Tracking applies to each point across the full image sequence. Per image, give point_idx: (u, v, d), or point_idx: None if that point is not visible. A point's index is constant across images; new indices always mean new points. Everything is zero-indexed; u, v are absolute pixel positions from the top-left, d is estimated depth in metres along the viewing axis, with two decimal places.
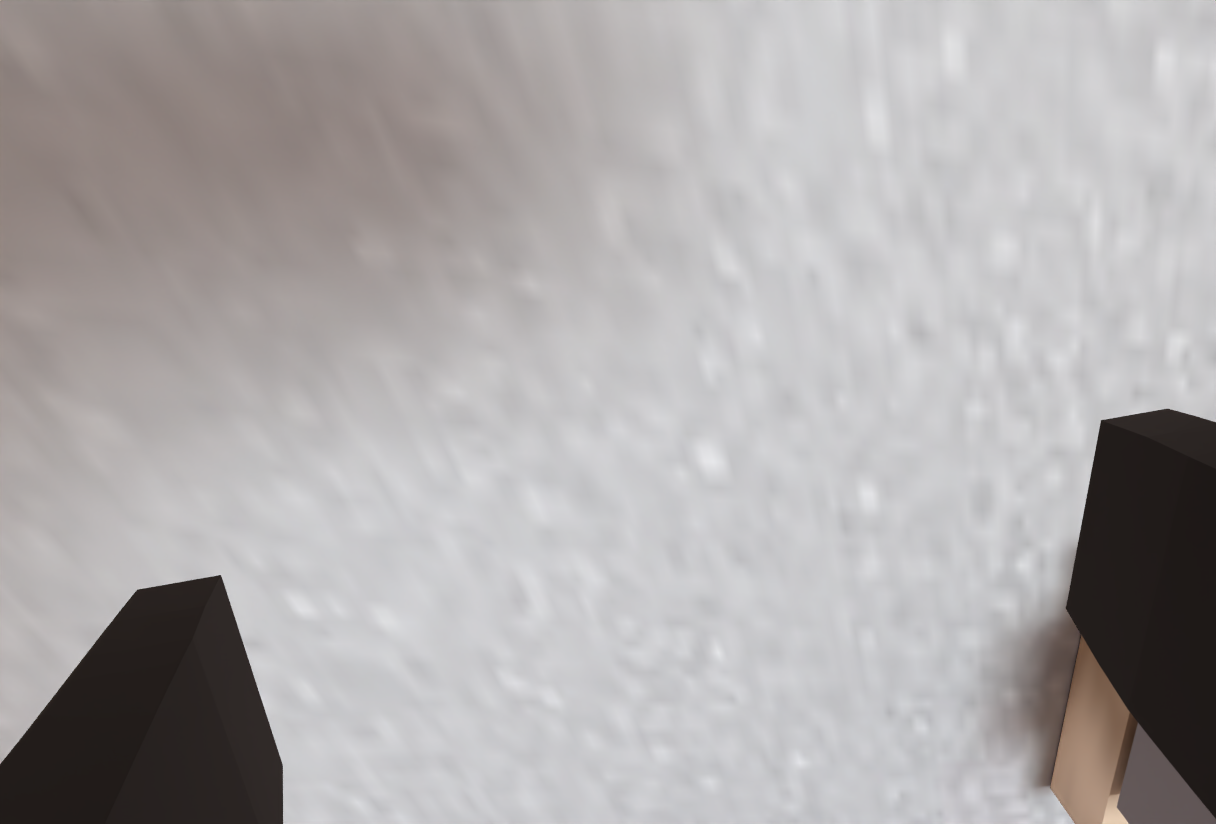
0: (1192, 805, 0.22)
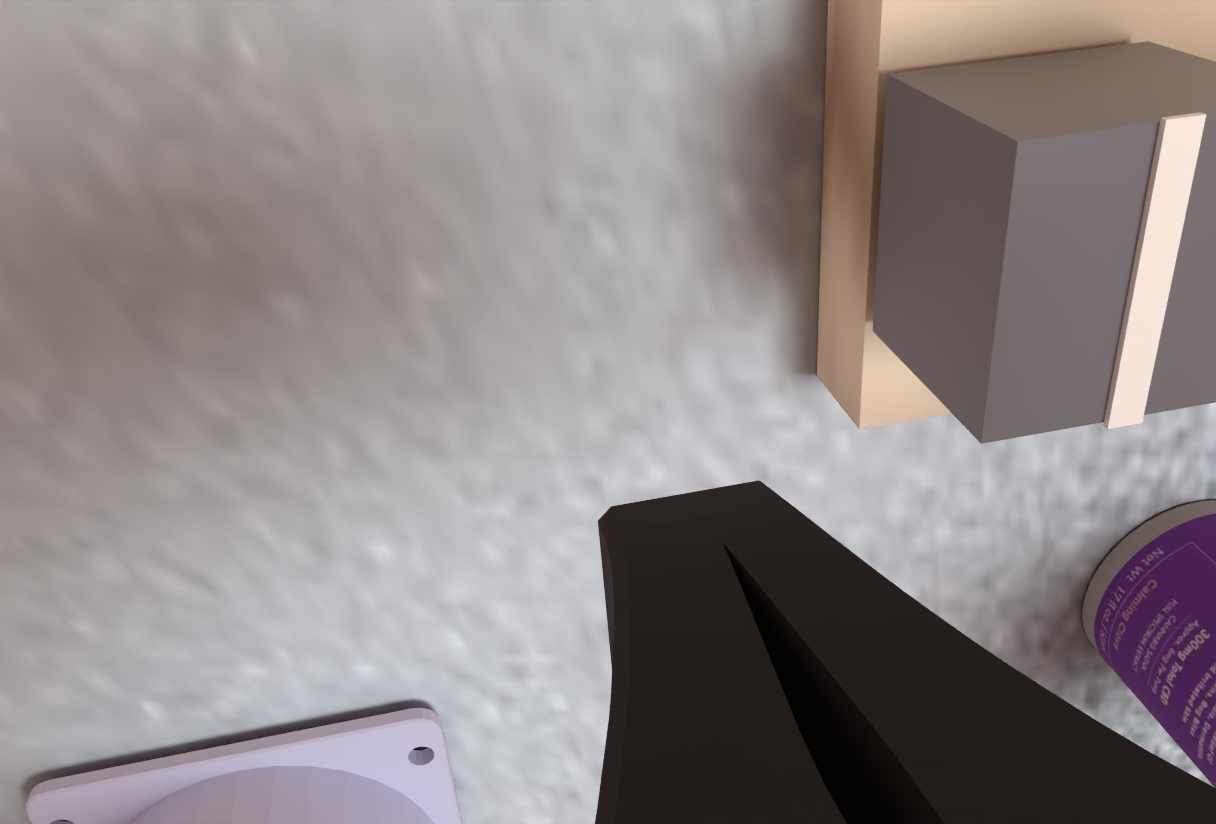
0: (941, 234, 0.14)
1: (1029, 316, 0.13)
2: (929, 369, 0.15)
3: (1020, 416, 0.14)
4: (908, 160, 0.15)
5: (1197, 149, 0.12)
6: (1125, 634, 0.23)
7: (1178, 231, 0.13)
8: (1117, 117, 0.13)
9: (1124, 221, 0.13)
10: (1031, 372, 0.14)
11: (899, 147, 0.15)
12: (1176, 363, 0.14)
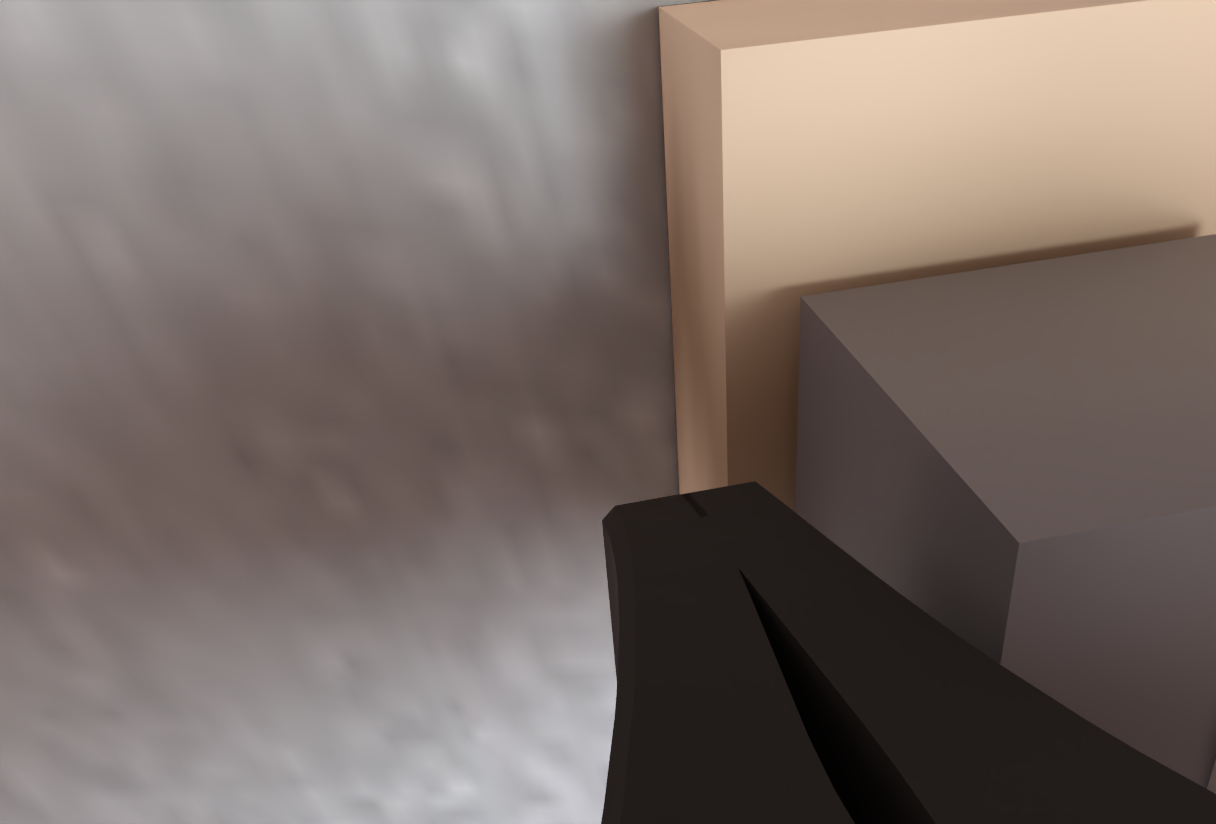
0: None
1: None
2: None
3: None
4: (833, 446, 0.09)
5: None
6: None
7: None
8: (1213, 468, 0.06)
9: None
10: None
11: (821, 420, 0.09)
12: None
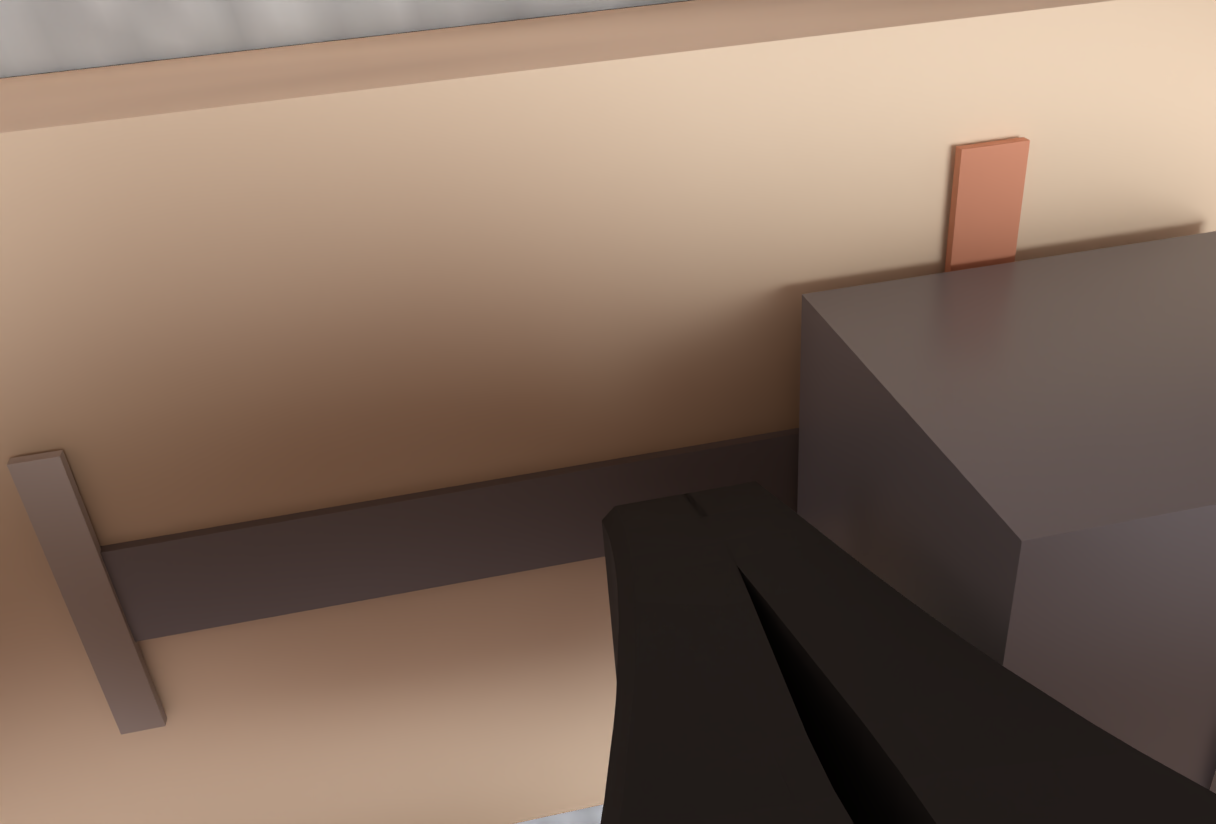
0: None
1: None
2: None
3: None
4: (835, 445, 0.09)
5: None
6: None
7: None
8: None
9: None
10: None
11: (823, 419, 0.09)
12: None
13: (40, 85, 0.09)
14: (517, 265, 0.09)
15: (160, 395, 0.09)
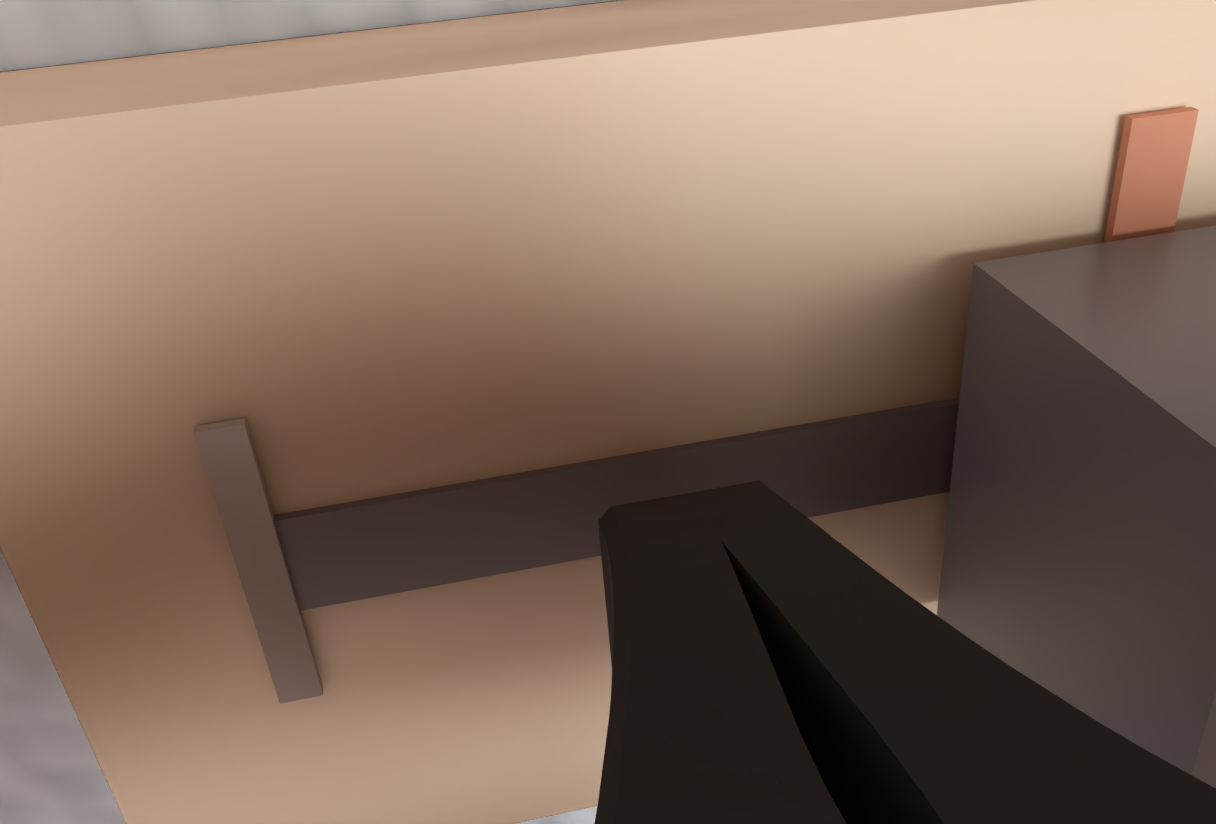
0: (1073, 558, 0.08)
1: None
2: None
3: None
4: (1011, 412, 0.09)
5: None
6: None
7: None
8: None
9: None
10: None
11: (995, 385, 0.09)
12: None
13: (220, 58, 0.09)
14: (694, 234, 0.09)
15: (341, 364, 0.09)
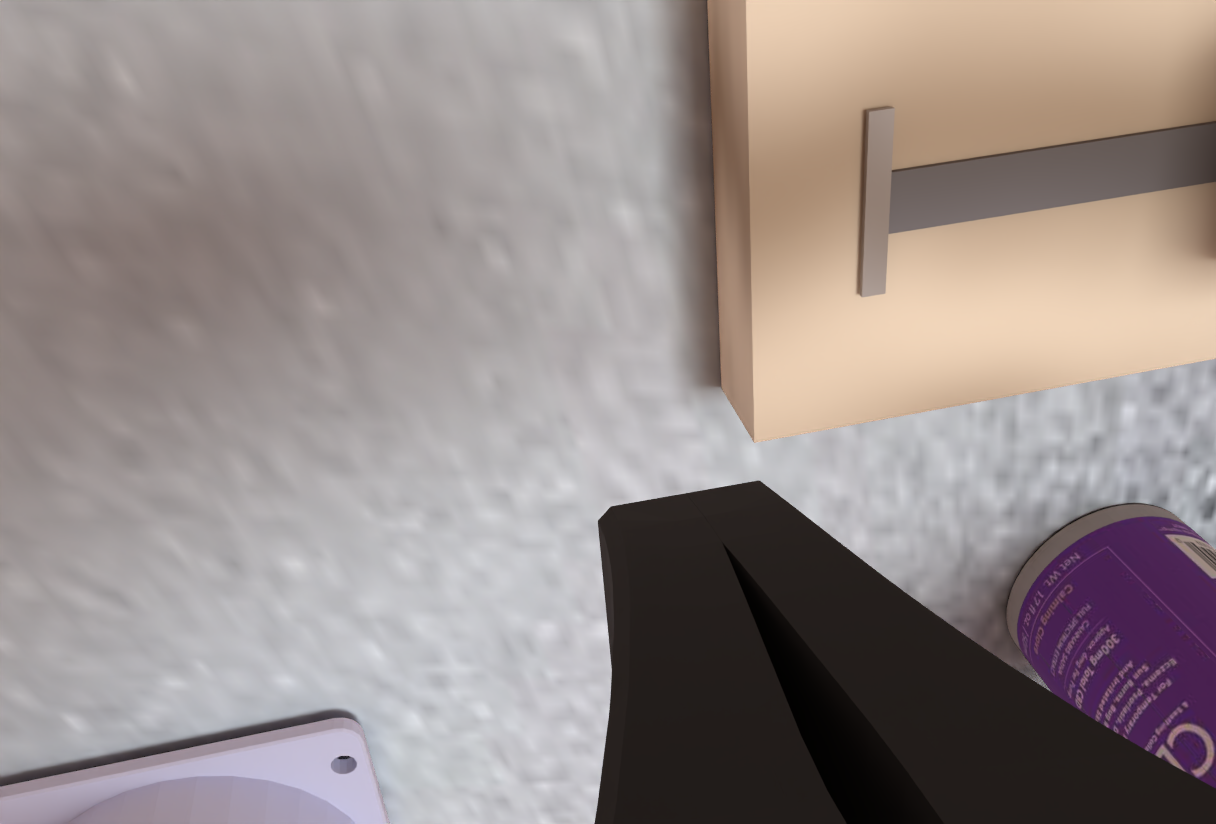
0: None
1: None
2: None
3: None
4: None
5: None
6: (1043, 638, 0.23)
7: None
8: None
9: None
10: None
11: None
12: None
13: None
14: (1136, 3, 0.16)
15: (945, 76, 0.16)
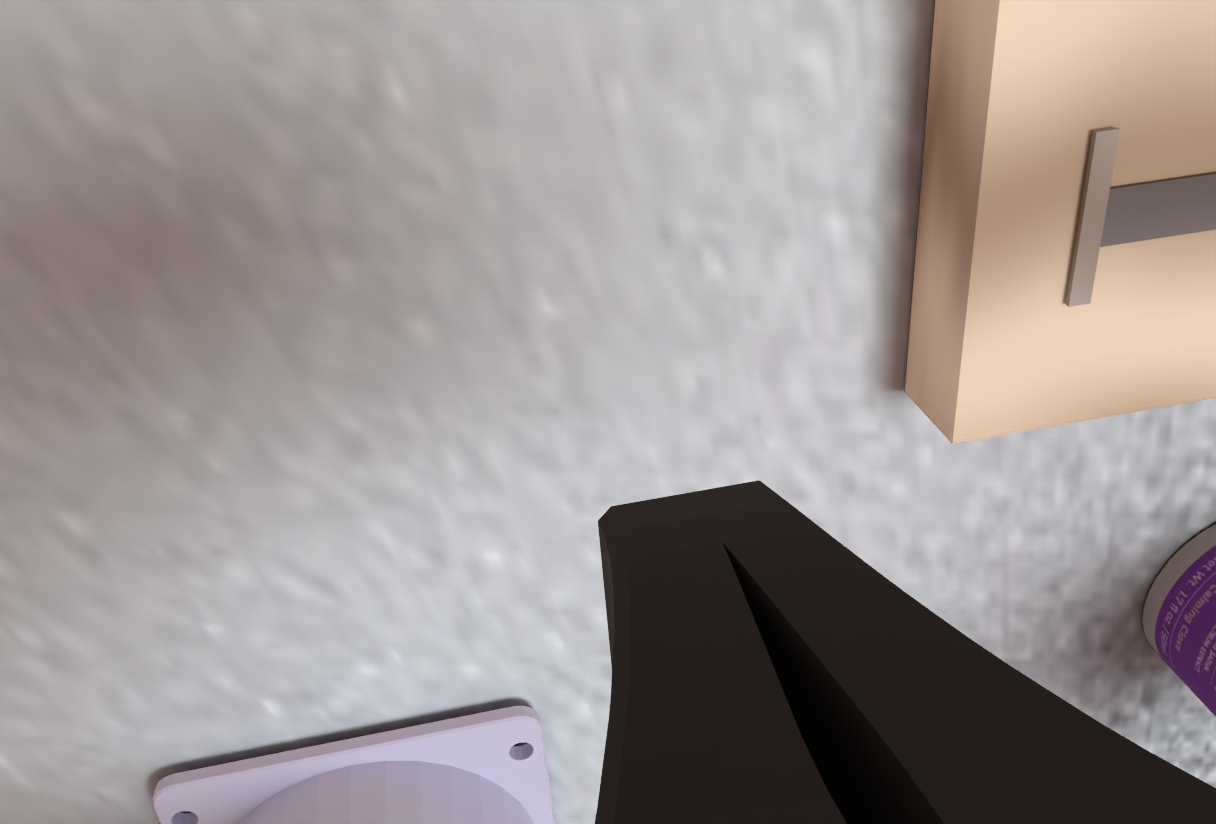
0: None
1: None
2: None
3: None
4: None
5: None
6: (1187, 636, 0.24)
7: None
8: None
9: None
10: None
11: None
12: None
13: None
14: None
15: (1166, 99, 0.17)
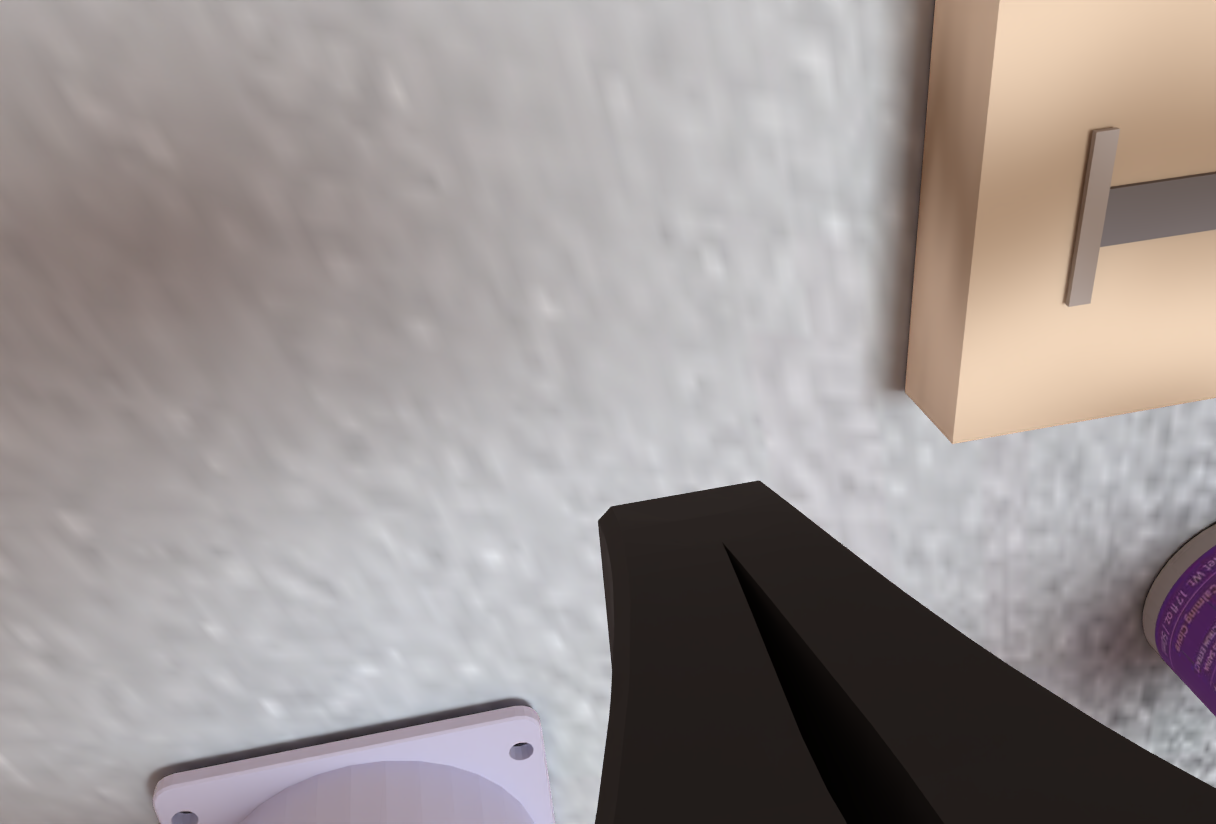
0: None
1: None
2: None
3: None
4: None
5: None
6: (1187, 636, 0.24)
7: None
8: None
9: None
10: None
11: None
12: None
13: None
14: None
15: (1166, 99, 0.17)
